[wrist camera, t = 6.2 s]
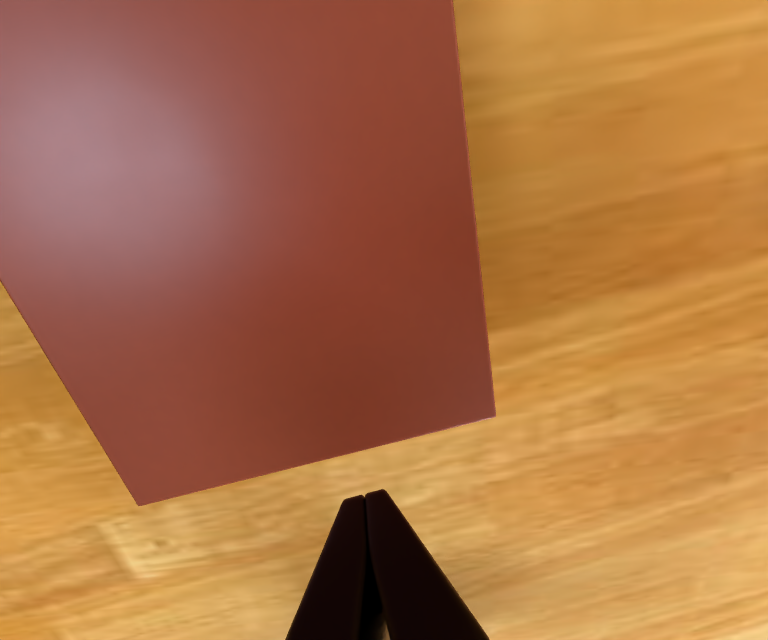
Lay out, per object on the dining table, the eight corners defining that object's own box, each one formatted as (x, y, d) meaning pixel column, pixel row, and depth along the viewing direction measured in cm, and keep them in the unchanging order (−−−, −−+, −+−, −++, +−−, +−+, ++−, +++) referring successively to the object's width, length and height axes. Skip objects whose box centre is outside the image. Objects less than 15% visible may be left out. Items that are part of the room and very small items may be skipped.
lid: (488, 404, 15) (497, 417, 14) (147, 489, 14) (137, 507, 13) (416, -242, 8) (424, -281, 8) (-217, -132, 8) (-274, -163, 7)
